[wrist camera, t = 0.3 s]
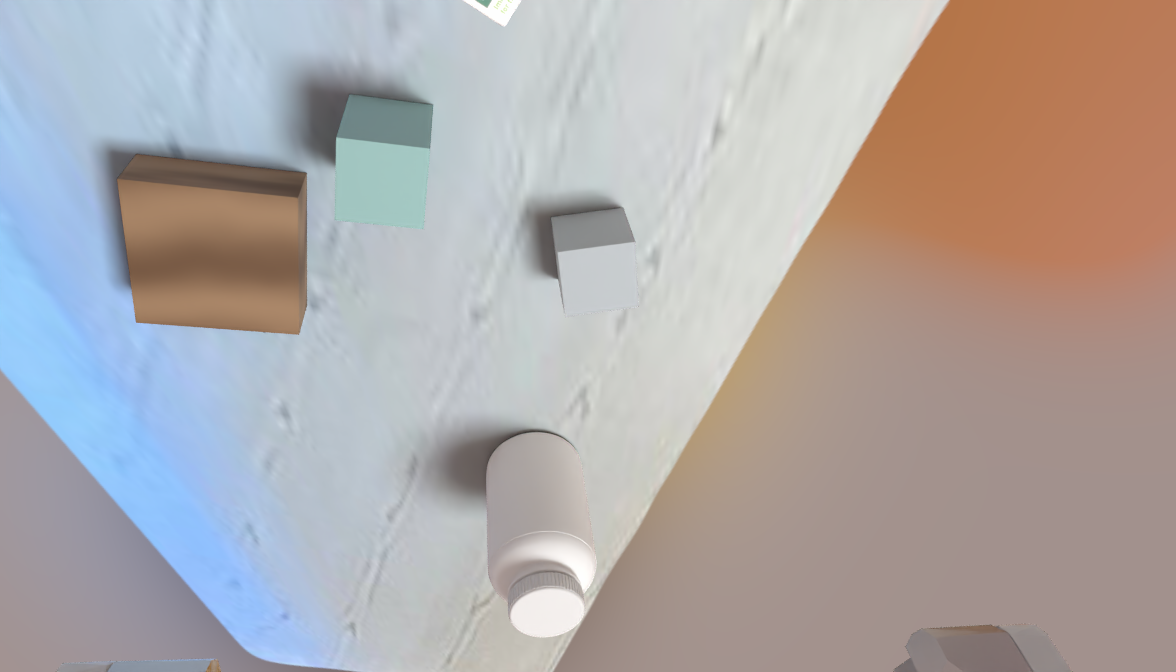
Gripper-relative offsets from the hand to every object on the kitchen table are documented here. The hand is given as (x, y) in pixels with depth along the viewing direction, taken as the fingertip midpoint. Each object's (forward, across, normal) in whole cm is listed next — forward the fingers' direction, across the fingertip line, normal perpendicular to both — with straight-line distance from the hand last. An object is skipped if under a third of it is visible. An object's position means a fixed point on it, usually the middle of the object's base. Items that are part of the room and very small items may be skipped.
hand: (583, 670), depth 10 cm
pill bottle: (+47, -6, +40) cm, 62 cm away
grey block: (+46, -8, +19) cm, 51 cm away
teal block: (+46, +6, +12) cm, 48 cm away
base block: (+47, +16, +19) cm, 53 cm away
